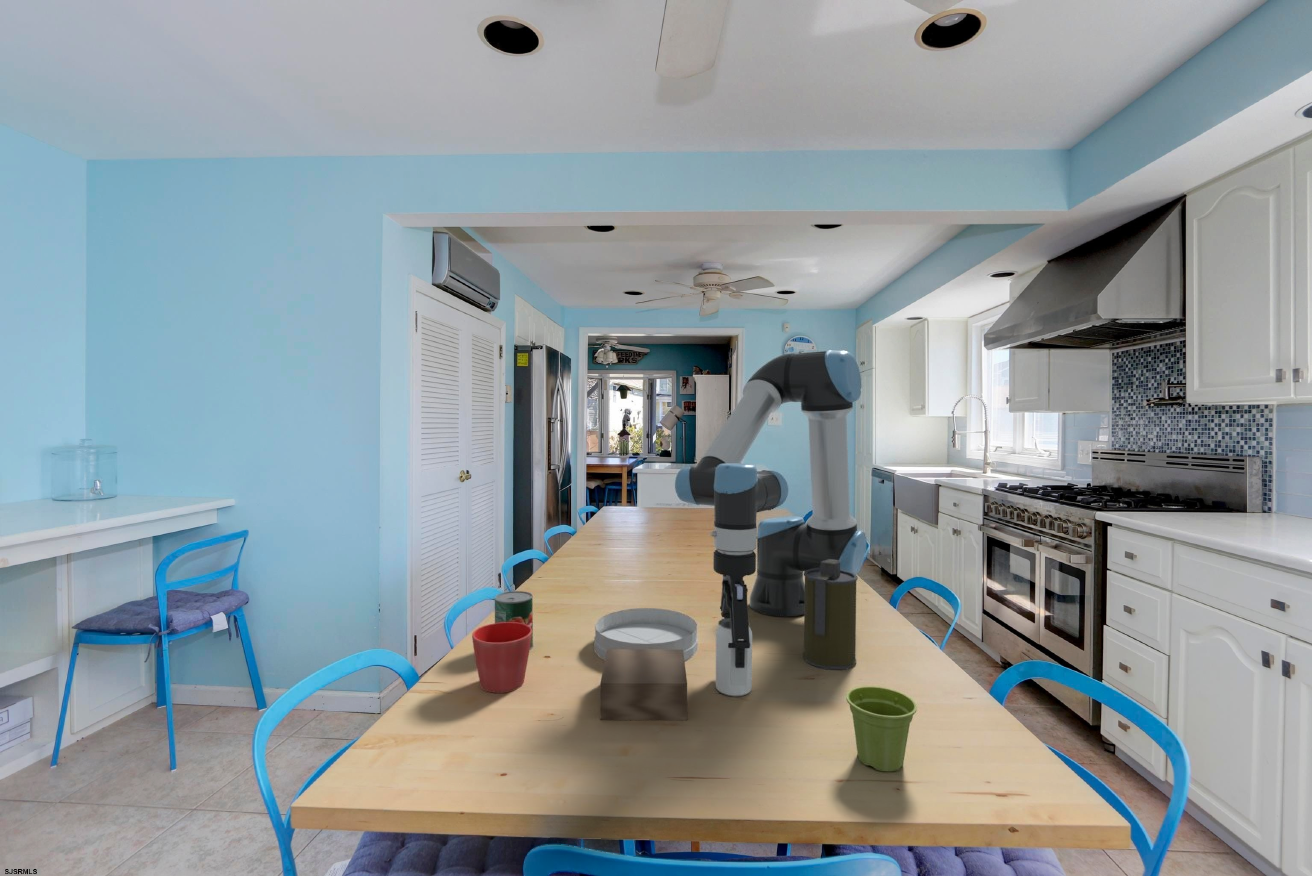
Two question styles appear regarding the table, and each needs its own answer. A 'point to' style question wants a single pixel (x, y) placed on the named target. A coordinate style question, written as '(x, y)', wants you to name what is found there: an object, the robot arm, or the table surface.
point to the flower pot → (502, 655)
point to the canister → (830, 616)
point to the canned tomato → (515, 608)
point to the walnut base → (643, 685)
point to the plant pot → (881, 725)
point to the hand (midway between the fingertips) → (733, 668)
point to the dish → (646, 631)
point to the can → (725, 660)
